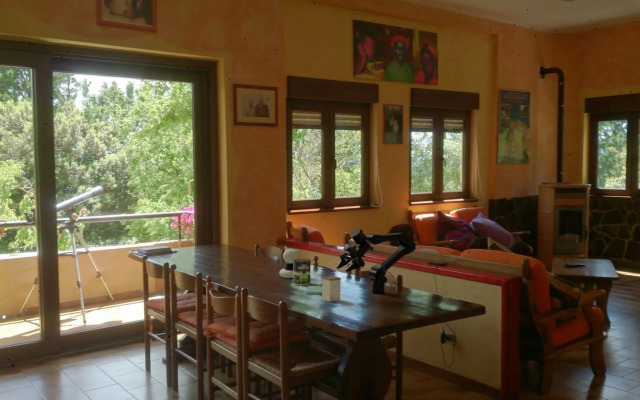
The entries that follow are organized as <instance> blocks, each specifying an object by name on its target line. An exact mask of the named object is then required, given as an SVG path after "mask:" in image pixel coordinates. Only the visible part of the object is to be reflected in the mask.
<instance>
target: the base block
mask: <svg viewBox="0 0 640 400" xmlns="http://www.w3.org/2000/svg"><path fill="white" fill-rule="evenodd" d="M316 294H322V285H321V286H320V285H307V291H306V295H316Z"/></svg>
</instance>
